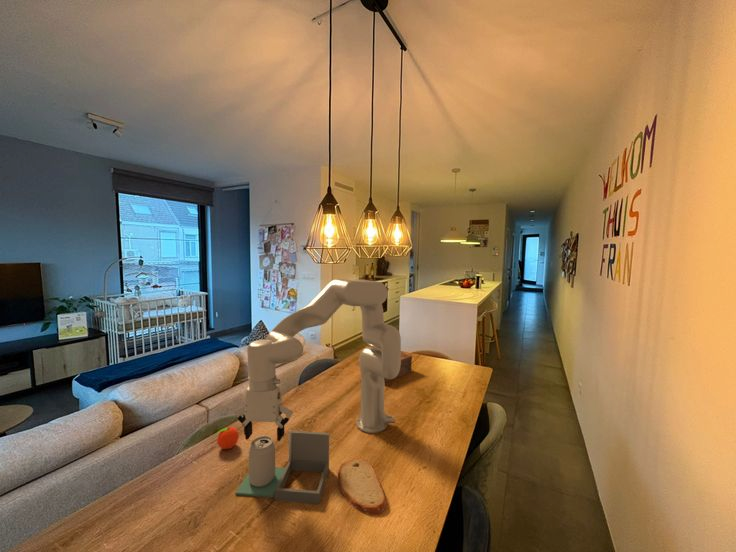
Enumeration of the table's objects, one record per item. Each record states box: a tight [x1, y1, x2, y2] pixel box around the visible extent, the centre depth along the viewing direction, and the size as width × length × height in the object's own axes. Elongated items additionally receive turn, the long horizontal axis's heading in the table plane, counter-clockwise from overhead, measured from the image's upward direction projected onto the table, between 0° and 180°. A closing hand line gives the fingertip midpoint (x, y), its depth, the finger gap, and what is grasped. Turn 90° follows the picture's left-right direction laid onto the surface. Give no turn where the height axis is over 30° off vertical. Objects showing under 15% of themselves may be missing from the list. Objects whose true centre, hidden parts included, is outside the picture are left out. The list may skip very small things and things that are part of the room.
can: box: [248, 435, 276, 487], centre depth 91 cm, size 8×8×12 cm
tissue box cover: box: [384, 351, 413, 383], centre depth 174 cm, size 26×14×10 cm, turn 133°
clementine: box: [213, 426, 240, 450], centre depth 106 cm, size 8×7×7 cm
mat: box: [235, 466, 286, 499], centre depth 91 cm, size 11×11×1 cm
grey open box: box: [274, 429, 330, 505], centre depth 90 cm, size 13×14×13 cm
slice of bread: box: [337, 457, 388, 516], centre depth 91 cm, size 18×18×4 cm
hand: (264, 437), depth 91 cm, fingers open, 9 cm apart
